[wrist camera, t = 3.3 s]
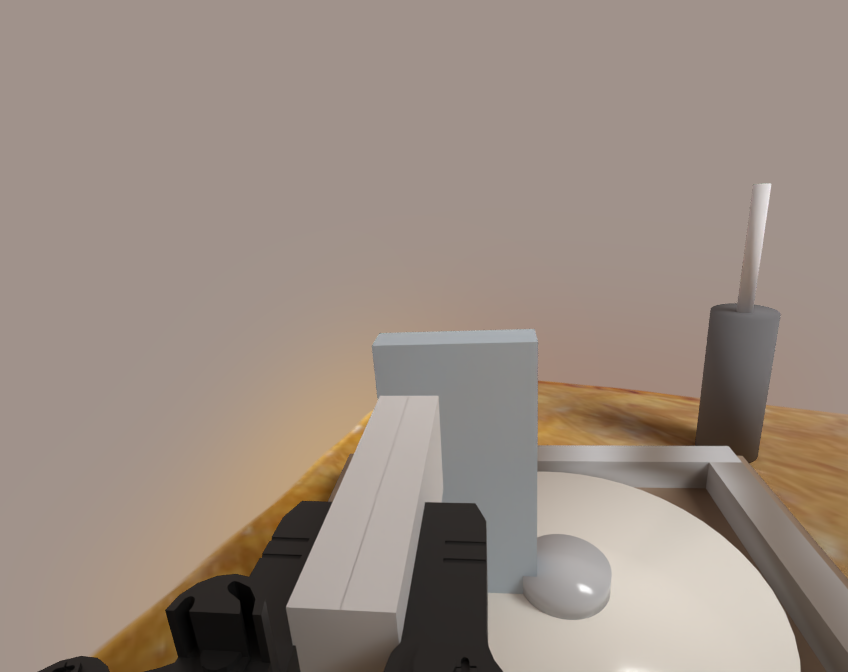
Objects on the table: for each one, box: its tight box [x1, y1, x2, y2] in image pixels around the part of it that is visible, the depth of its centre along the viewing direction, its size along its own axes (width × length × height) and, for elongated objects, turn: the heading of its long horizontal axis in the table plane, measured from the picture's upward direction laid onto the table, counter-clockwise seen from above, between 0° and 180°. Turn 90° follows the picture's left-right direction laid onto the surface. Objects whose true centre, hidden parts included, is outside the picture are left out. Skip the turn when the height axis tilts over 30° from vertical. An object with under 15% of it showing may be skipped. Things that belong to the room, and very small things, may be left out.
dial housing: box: [328, 446, 848, 672], centre depth 19 cm, size 22×22×4 cm
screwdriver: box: [695, 184, 780, 463], centre depth 30 cm, size 3×3×16 cm
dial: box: [372, 329, 801, 672], centre depth 17 cm, size 14×14×11 cm
